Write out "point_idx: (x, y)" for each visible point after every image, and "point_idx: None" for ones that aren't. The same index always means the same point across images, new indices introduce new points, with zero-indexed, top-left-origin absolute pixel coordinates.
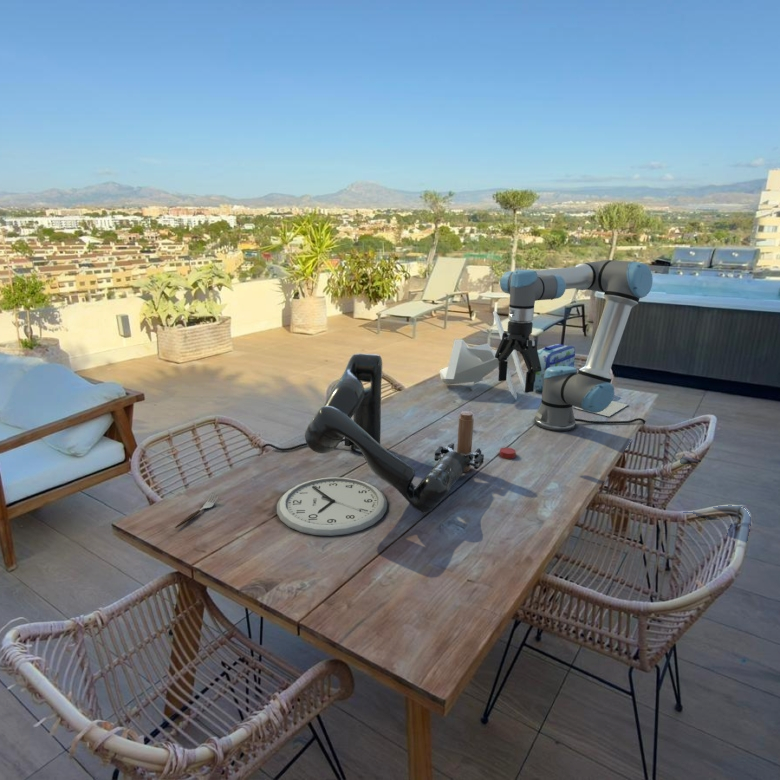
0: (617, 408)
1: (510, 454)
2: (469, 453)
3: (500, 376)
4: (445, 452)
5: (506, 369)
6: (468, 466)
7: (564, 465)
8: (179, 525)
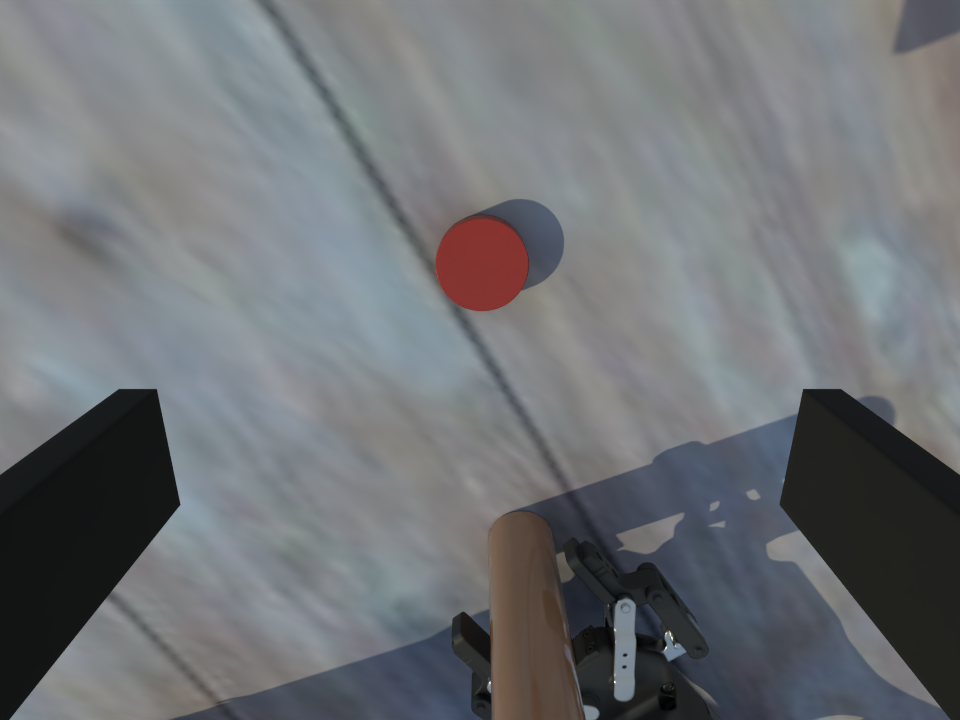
0: None
1: (525, 278)
2: (627, 653)
3: (138, 545)
4: None
5: (26, 508)
6: (554, 547)
7: (746, 20)
8: None
